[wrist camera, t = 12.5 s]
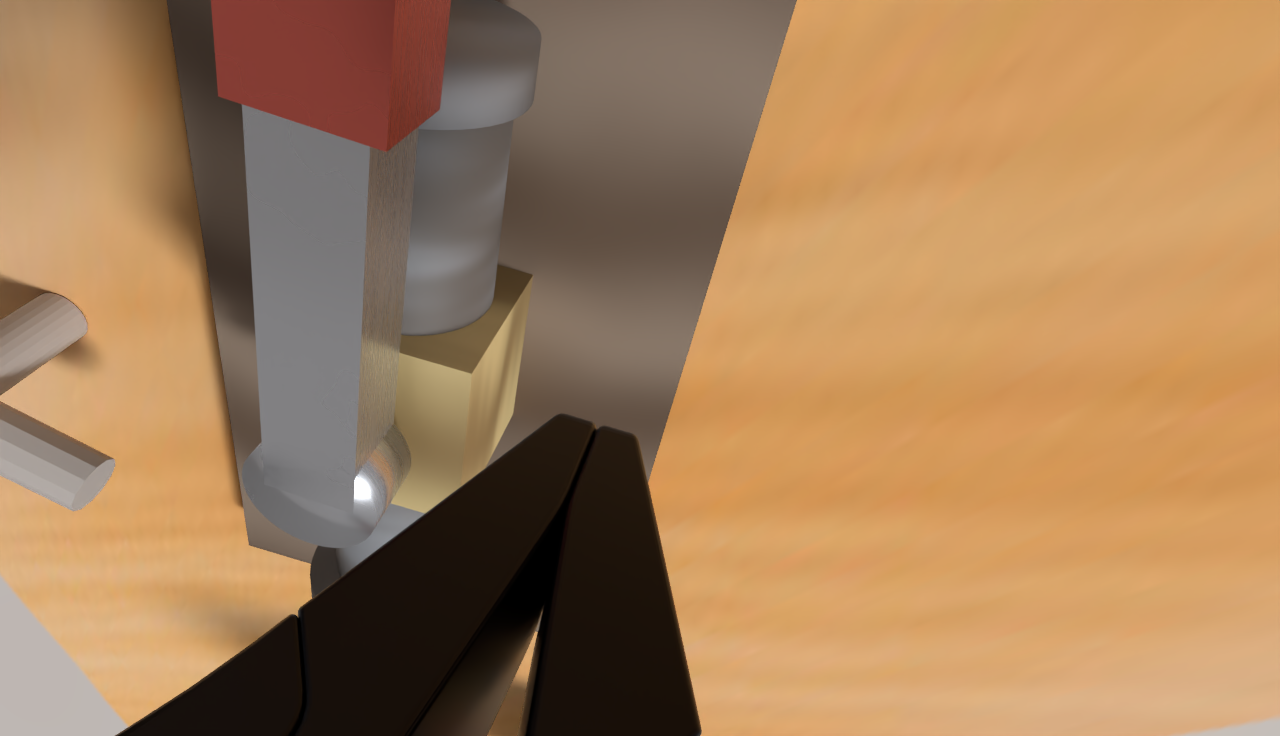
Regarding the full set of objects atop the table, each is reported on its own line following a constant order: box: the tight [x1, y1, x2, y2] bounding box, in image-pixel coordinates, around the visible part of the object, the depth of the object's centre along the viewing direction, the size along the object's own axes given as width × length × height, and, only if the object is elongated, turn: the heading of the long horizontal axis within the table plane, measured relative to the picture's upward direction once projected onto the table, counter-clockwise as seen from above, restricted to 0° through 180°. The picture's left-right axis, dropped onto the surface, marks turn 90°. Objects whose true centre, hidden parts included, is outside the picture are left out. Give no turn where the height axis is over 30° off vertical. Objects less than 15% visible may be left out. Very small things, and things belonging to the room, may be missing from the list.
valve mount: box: [167, 0, 797, 632], centre depth 22 cm, size 24×14×6 cm, turn 168°
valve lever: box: [211, 0, 451, 548], centre depth 14 cm, size 15×3×2 cm, turn 165°
